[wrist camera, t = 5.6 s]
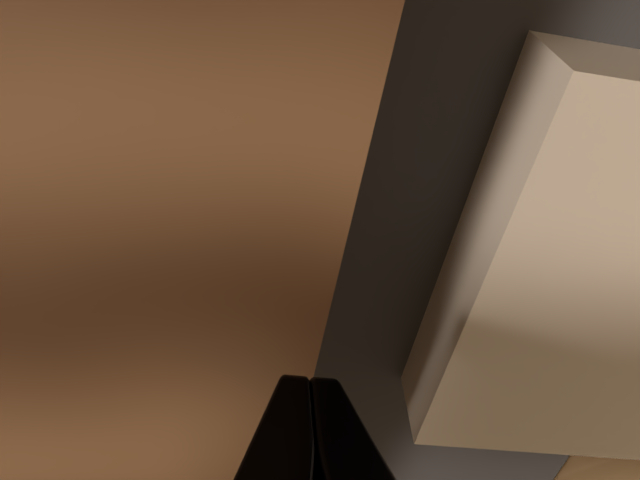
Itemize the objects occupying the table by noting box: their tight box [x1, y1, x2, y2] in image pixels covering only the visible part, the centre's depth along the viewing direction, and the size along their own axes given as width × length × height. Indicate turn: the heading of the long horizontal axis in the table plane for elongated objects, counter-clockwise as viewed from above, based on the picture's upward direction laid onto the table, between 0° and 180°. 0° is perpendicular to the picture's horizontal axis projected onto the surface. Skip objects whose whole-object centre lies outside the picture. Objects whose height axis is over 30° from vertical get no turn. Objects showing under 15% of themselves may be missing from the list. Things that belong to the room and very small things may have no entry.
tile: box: [401, 30, 640, 460], centre depth 12 cm, size 9×6×2 cm, turn 170°
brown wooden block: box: [0, 0, 405, 480], centre depth 10 cm, size 18×11×4 cm, turn 170°
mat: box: [313, 0, 640, 480], centre depth 13 cm, size 20×9×1 cm, turn 170°
